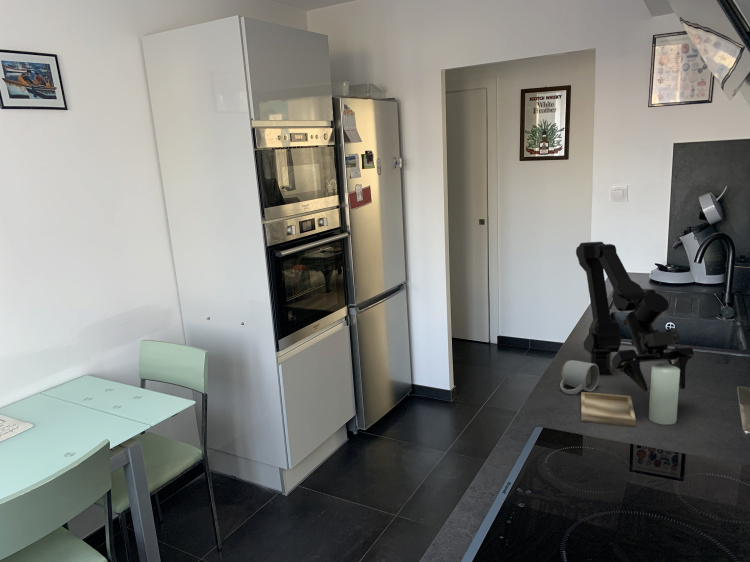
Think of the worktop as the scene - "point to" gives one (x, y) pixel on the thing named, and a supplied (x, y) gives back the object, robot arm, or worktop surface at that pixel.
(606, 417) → the tray
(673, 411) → the pillar candle
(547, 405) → the worktop surface
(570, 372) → the ceramic mug
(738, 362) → the worktop surface
